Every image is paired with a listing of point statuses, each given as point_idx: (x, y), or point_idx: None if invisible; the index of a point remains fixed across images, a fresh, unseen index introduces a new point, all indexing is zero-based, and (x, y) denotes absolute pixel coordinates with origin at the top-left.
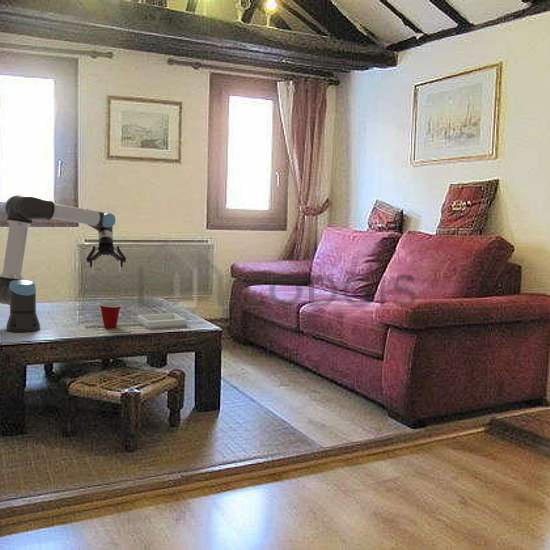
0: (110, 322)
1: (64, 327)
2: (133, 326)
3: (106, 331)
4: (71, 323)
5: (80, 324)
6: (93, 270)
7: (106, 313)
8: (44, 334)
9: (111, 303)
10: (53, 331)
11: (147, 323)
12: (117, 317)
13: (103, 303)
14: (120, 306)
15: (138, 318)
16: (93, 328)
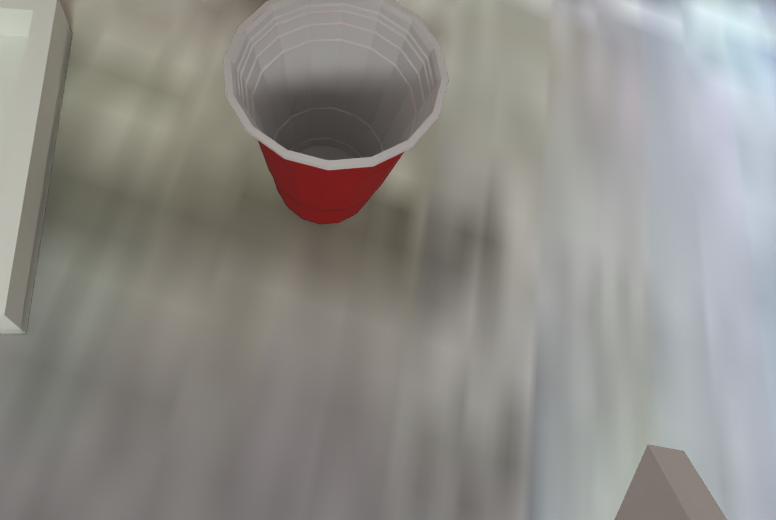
0: (337, 111)
1: (649, 293)
2: (140, 156)
3: None
4: (601, 442)
5: (532, 373)
6: (647, 460)
7: (379, 69)
8: (755, 119)
9: (307, 156)
10: (712, 184)
11: (59, 13)
12: (276, 103)
13: (396, 145)
14: (253, 20)
15: (18, 289)
16: (450, 188)
